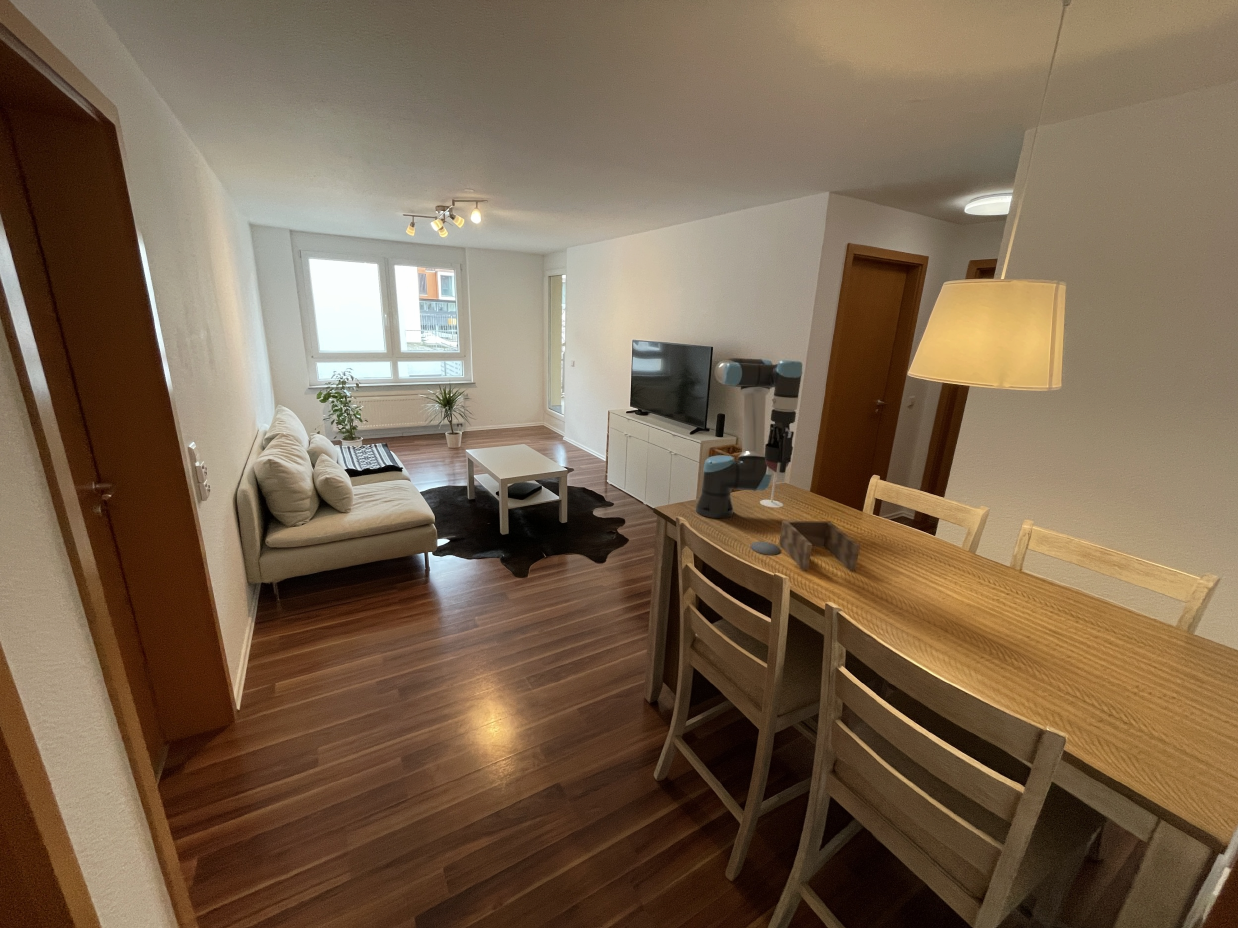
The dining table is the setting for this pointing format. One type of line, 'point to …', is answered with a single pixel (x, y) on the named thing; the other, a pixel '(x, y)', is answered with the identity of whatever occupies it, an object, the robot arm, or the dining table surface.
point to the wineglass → (771, 462)
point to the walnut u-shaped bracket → (817, 542)
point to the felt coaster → (765, 548)
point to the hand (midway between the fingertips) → (774, 477)
